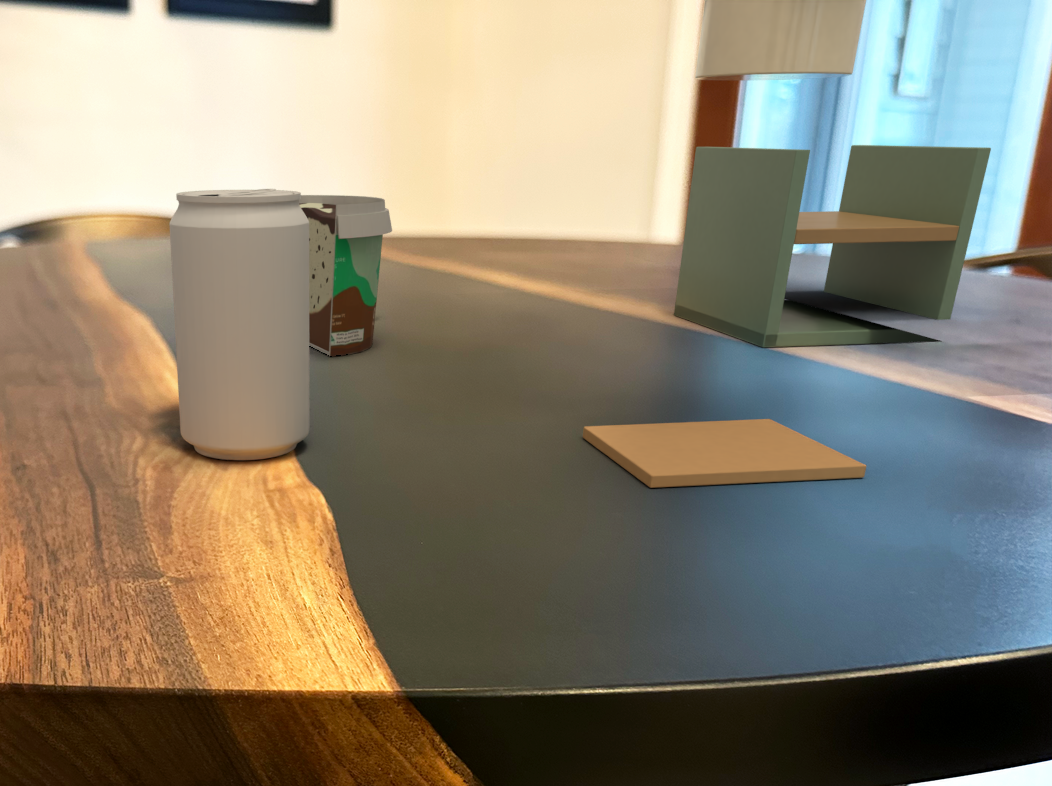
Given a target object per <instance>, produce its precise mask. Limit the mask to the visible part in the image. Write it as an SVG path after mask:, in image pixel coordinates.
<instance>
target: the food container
mask: <svg viewBox="0 0 1052 786" xmlns="http://www.w3.org/2000/svg"><path fill="white" fill-rule="evenodd" d="M385 201H386V200H385V199H384V198H383V197H376V196H365V195H345V194H343V195H340V194H301V199H300V200H299V205H300V207H301V209H302V211H303V212H304V214H305V215H306V217H307V219H308V221H309V345H310V346H312V347H314V348H316V349H318V350H320V351H322V352H324V353H326V354H327V355H326V356H328V355H329V356H328V357H330V356H332V357H337V356H336V355H341V356H347V355H346V354H348V355H352V354H358V353H361V352H364V351H366V350H369V349H370V348H371V347H372V346H373V342H374V333H375V322H376V313H377V312H376V311H377V302H378V291H379V280H380V269H381V259H382V258H381V257H382V250H383V249H382V247H383V236H384V235H387V234H390V233H392V232H393V226H392V221H391V216H390V215H391V214H390V210H389V208H387V207H386V202H385Z"/></svg>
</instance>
